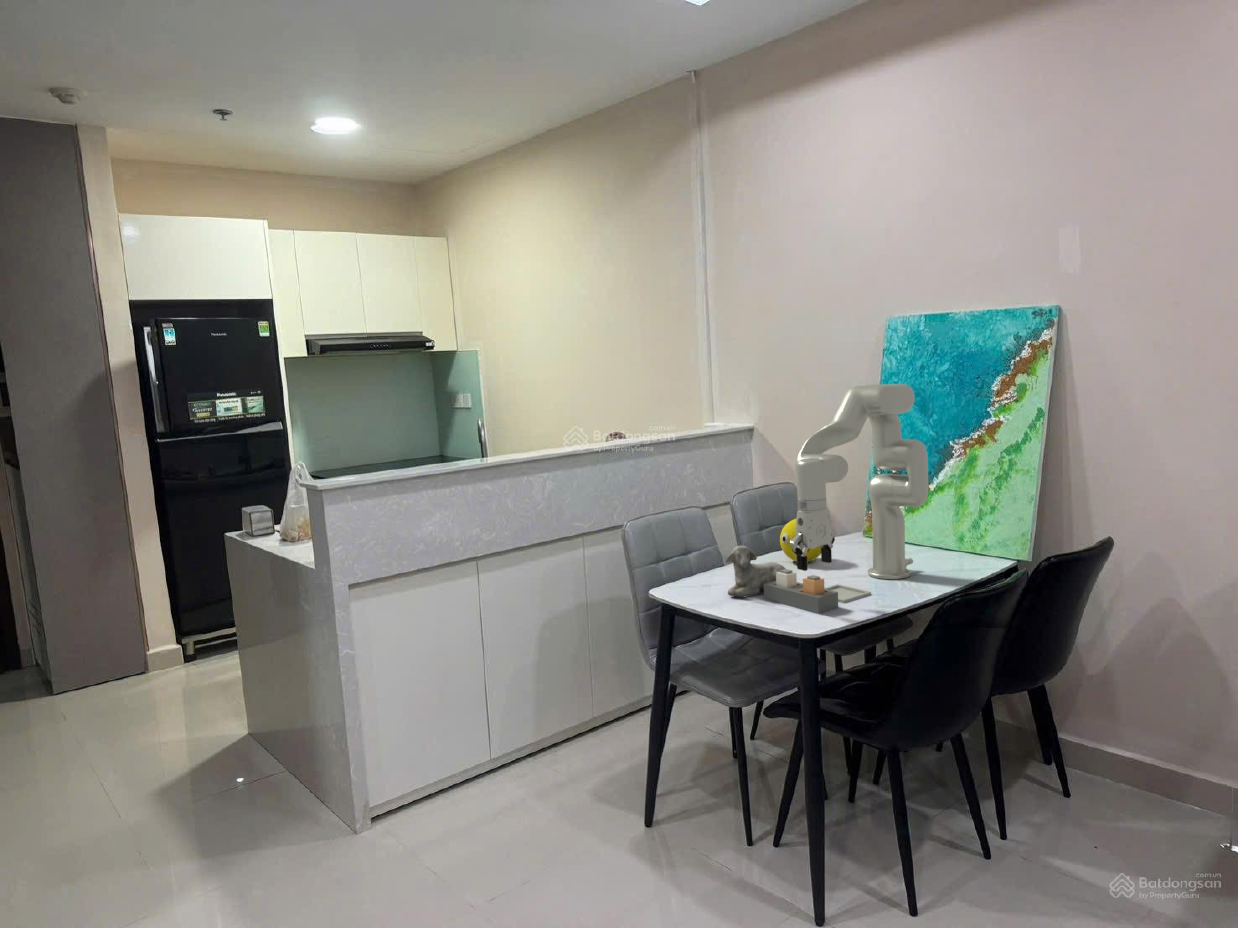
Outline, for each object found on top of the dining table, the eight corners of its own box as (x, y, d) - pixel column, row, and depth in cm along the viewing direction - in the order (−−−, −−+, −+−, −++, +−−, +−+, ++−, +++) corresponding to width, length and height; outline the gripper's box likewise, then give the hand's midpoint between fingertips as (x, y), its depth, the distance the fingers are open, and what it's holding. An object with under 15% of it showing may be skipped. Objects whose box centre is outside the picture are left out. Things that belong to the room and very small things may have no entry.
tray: (837, 588, 243) (837, 584, 243) (871, 596, 233) (871, 591, 233) (810, 596, 236) (810, 592, 236) (843, 605, 226) (843, 600, 226)
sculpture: (722, 596, 241) (720, 546, 240) (772, 582, 253) (770, 535, 252) (748, 603, 232) (747, 552, 231) (799, 589, 245) (797, 539, 243)
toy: (777, 567, 271) (775, 523, 269) (783, 556, 286) (782, 513, 285) (823, 569, 266) (822, 523, 264) (827, 557, 282) (826, 514, 280)
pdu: (783, 595, 239) (782, 564, 238) (838, 609, 222) (837, 577, 221) (764, 601, 234) (763, 569, 233) (818, 616, 218) (817, 582, 217)
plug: (824, 603, 223) (824, 576, 223) (814, 606, 221) (814, 579, 220) (813, 600, 227) (813, 574, 226) (803, 603, 225) (802, 576, 224)
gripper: (800, 511, 213) (803, 575, 215) (844, 500, 223) (846, 561, 225) (779, 508, 219) (782, 570, 221) (822, 497, 229) (825, 557, 231)
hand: (814, 565), depth 223 cm, fingers open, 9 cm apart
